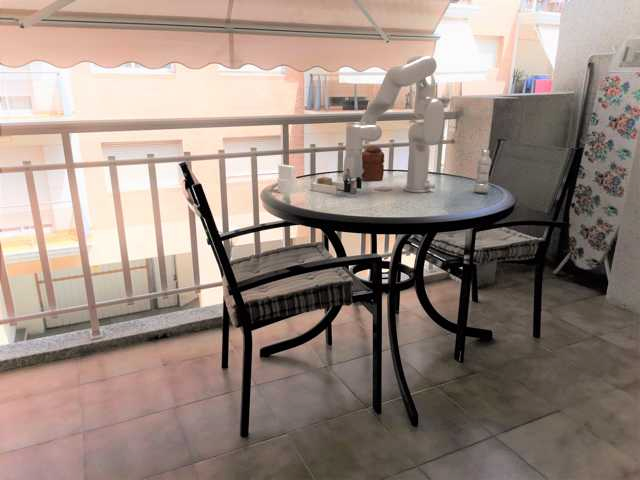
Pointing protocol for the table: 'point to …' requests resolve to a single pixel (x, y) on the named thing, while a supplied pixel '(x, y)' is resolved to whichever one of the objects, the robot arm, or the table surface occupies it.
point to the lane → (328, 187)
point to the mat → (350, 194)
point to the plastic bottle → (482, 172)
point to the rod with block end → (329, 182)
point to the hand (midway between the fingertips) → (352, 190)
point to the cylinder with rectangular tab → (287, 179)
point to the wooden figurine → (373, 164)
